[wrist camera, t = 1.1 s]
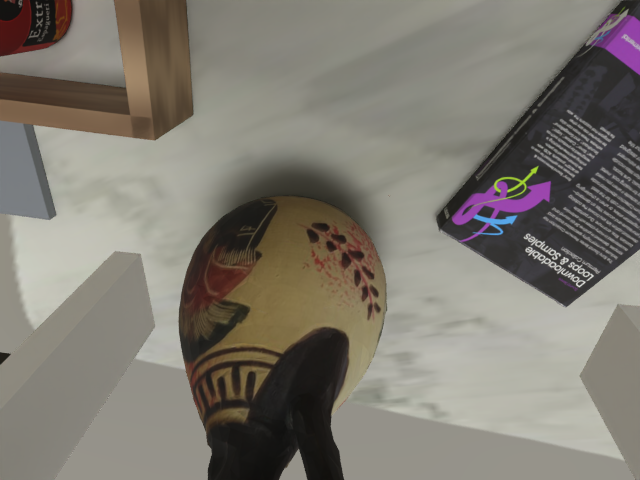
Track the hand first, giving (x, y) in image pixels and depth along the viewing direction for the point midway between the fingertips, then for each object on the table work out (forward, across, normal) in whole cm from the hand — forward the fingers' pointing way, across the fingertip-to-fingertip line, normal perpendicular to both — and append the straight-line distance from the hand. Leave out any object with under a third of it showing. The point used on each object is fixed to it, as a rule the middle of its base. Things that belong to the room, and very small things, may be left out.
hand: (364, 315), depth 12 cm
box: (+25, +17, -3) cm, 30 cm away
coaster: (+24, -34, -7) cm, 42 cm away
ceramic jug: (+24, -4, -12) cm, 27 cm away
